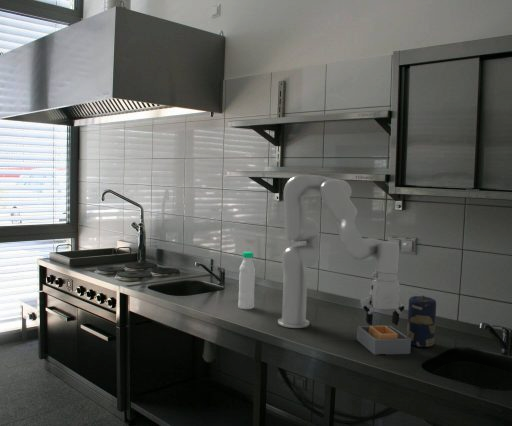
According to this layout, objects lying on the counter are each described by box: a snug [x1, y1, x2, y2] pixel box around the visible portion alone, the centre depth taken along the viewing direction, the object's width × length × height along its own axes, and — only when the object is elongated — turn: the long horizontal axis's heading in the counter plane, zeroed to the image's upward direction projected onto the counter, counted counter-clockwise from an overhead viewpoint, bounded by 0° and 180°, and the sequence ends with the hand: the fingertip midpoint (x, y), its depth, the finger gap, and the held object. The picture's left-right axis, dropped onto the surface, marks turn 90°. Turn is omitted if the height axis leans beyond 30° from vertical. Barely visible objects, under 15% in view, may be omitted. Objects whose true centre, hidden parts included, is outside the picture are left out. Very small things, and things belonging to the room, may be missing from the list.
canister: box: [406, 295, 437, 348], centre depth 186 cm, size 10×10×18 cm
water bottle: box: [237, 251, 256, 310], centre depth 228 cm, size 7×7×25 cm
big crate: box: [356, 325, 412, 356], centre depth 182 cm, size 16×13×5 cm
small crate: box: [369, 325, 398, 340], centre depth 182 cm, size 10×6×5 cm, turn 10°
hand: (382, 324), depth 182 cm, fingers open, 9 cm apart
